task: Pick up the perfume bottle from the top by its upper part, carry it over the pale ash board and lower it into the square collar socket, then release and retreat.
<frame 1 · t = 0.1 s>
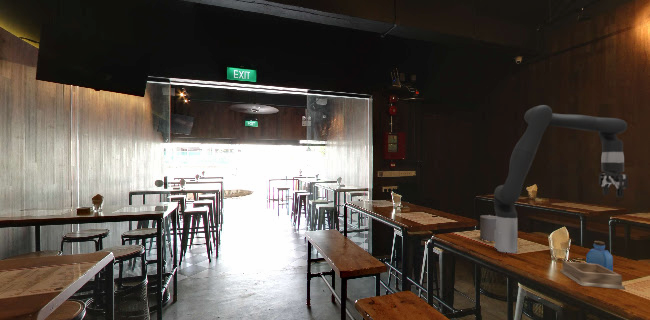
hand: (612, 195, 133), 29 cm above the table, tool pointing down, fingers open, 8 cm apart
pillar candle: (489, 240, 162), on the table
perfume bottle: (599, 271, 117), on the table
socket: (590, 279, 107), on the table
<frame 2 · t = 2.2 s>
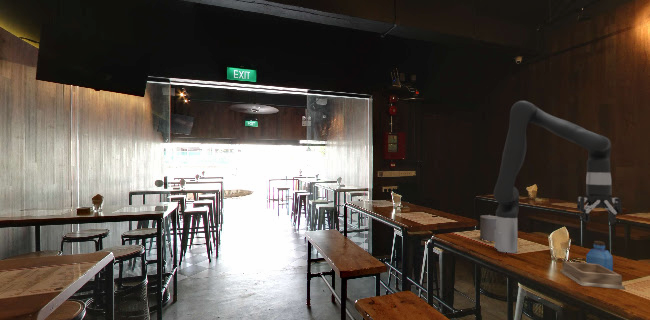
hand: (599, 222, 117), 20 cm above the table, tool pointing down, fingers open, 8 cm apart
nothing on the table moved.
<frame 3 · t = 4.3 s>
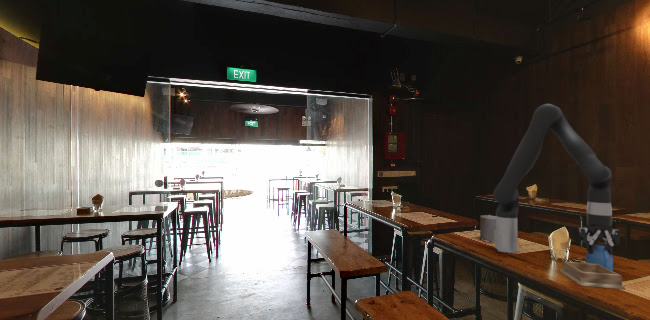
hand: (599, 253, 117), 7 cm above the table, tool pointing down, fingers closed on perfume bottle, 5 cm apart
perfume bottle: (599, 271, 117), on the table, touching gripper
everything else where it was.
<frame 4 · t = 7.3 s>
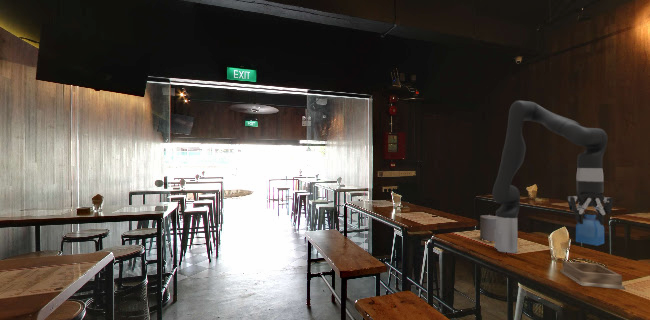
hand: (589, 223, 108), 21 cm above the table, tool pointing down, fingers closed on perfume bottle, 5 cm apart
perfume bottle: (590, 243, 108), point 14 cm above the table, touching gripper
everything else where it was.
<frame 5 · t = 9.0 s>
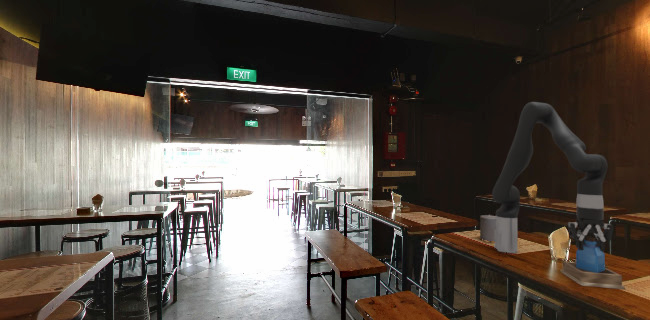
hand: (590, 250, 108), 11 cm above the table, tool pointing down, fingers closed on perfume bottle, 5 cm apart
perfume bottle: (590, 269, 107), point 4 cm above the table, touching gripper
everything else where it was.
when the fingers open (9 cm above the table, at t = 10.4 s): perfume bottle stays where it is, resting on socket.
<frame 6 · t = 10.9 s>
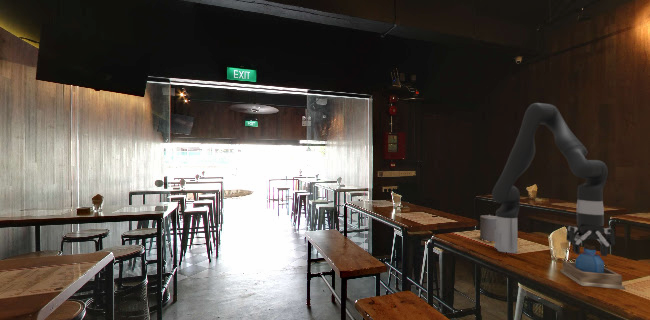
hand: (590, 254, 108), 10 cm above the table, tool pointing down, fingers open, 8 cm apart
perfume bottle: (589, 277, 108), point 1 cm above the table, touching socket
everything else where it was.
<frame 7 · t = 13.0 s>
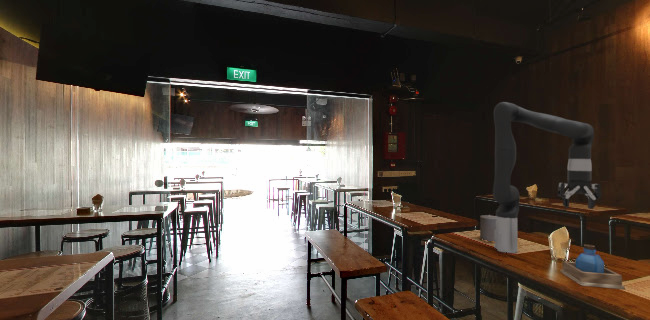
hand: (578, 207, 120), 26 cm above the table, tool pointing down, fingers open, 8 cm apart
nothing on the table moved.
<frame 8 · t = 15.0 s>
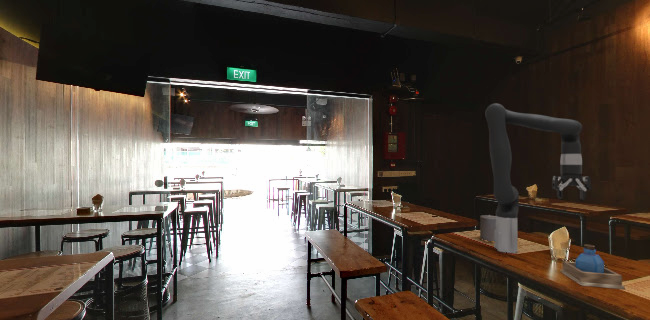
hand: (571, 198, 130), 28 cm above the table, tool pointing down, fingers open, 8 cm apart
nothing on the table moved.
at the end: perfume bottle 0.1 cm off-centre on the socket, point 0.8 cm above the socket's base; perfume bottle tilted 0°; the gripper is holding nothing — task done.
